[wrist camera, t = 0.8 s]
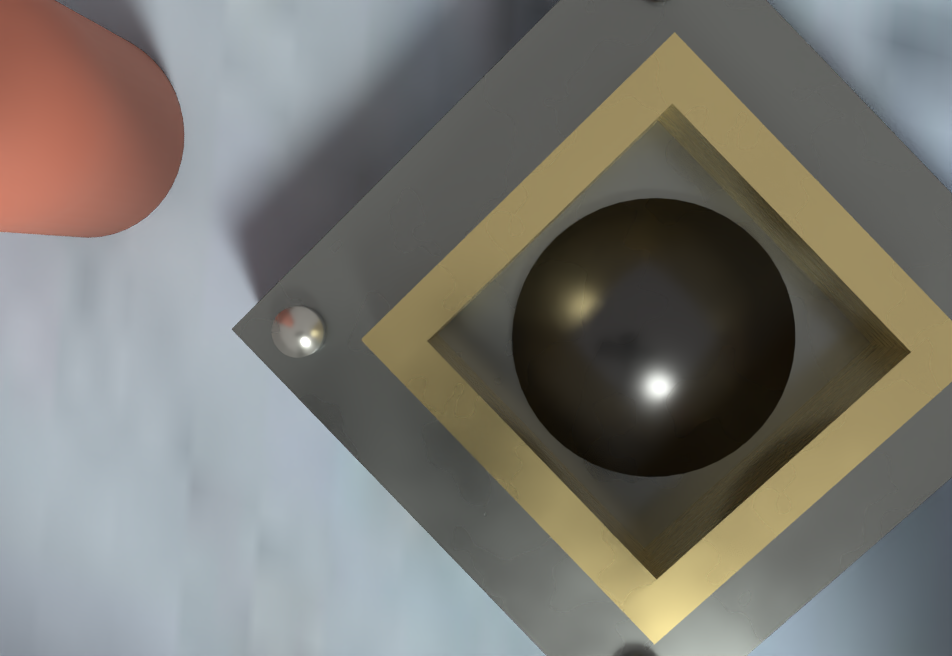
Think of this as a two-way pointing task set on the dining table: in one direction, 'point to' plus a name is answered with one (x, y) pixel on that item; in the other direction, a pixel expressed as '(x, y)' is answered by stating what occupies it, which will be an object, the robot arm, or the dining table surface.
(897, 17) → the dining table surface
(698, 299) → the square socket fixture
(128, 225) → the sippy cup
